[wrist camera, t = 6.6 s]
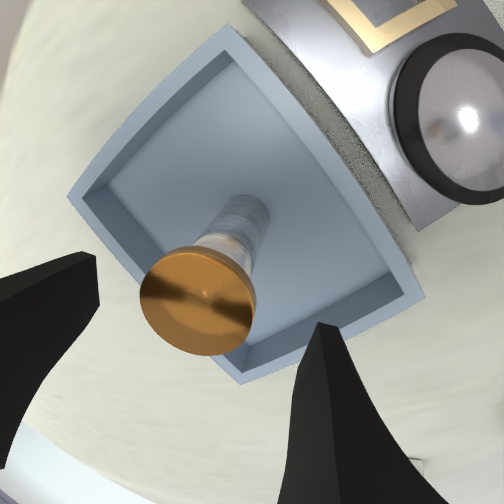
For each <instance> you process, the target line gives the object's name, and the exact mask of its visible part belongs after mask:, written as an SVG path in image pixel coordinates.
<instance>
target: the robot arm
mask: <svg viewBox="0 0 504 504" xmlns="http://www.w3.org/2000/svg"><path fill="white" fill-rule="evenodd" d="M99 306H100V301H99V291H98V280H97V266H96V256H95V255H92V254H89V253H86V252H83V251H80V252H76V253H72V254H69V255H66V256H63V257H60V258H57V259H54V260H52V261H49V262H46V263H43V264H41V265H38V266H35V267H32V268H30V269H27V270H24V271H21V272H18V273H15V274H12V275H9V276H6V277H4V278H1V279H0V469H4V468H5V464H6V460H7V457H8V454H9V451H10V448H11V445H12V442H13V439H14V437H15V434H16V432H17V430H18V427H19V425H20V423H21V420H22V418H23V416H24V414H25V412H26V410H27V408H28V406H29V404H30V403H31V401H32V399H33V397H34V395H35V394H36V392H37V390H38V389H39V387H40V385H41V383H42V382H43V380H44V379H45V377H46V376H47V375H48V373H49V372H50V371H51V369H52V368H53V367H54V366H55V364H56V363H57V362H58V361H59V359H60V358H61V357H62V356H63V355H64V353H65V352H66V351H67V350H68V349H69V347H70V346H71V345H72V344H73V343H74V341H75V340H76V339H77V338H78V336H79V335H80V334H81V333H82V332H83V330H84V329H85V328H86V326H87V325H88V323H89V322H90V320H91V319H92V317H93V316H94V314H95V312H96V311H97V309H98V307H99ZM0 504H18V503H17V502H16V501H15V500H13V499H12V498H10V497H9V496H8V495H7V494H6V493H4V492H3V491H2V490H1V489H0ZM277 504H449V503H448V502H447V501H445V500H444V499H443V498H442V497H441V496H440V494H439V493H438V492H437V491H436V490H435V489H434V488H433V487H432V486H431V485H430V484H429V483H428V482H427V481H426V479H425V478H424V477H423V476H422V475H421V474H420V473H419V471H418V470H417V469H416V468H415V466H414V465H413V464H412V462H411V461H410V460H409V459H408V457H407V456H406V455H405V453H404V452H403V451H402V449H401V448H400V447H399V445H398V444H397V442H396V441H395V439H394V438H393V436H392V435H391V433H390V432H389V430H388V429H387V427H386V425H385V424H384V422H383V421H382V419H381V417H380V416H379V414H378V412H377V410H376V408H375V406H374V405H373V403H372V401H371V399H370V397H369V395H368V393H367V391H366V389H365V387H364V385H363V383H362V381H361V379H360V376H359V374H358V372H357V370H356V368H355V366H354V363H353V361H352V359H351V356H350V354H349V352H348V349H347V347H346V345H345V342H344V340H343V337H342V335H341V333H340V330H339V328H338V327H337V326H333V325H329V324H325V323H321V322H317V325H316V327H315V330H314V332H313V334H312V337H311V339H310V341H309V344H308V346H307V348H306V351H305V353H304V355H303V357H302V360H301V362H300V364H299V366H298V370H297V375H296V380H295V385H294V390H293V395H292V404H291V416H290V428H289V439H288V450H287V460H286V466H285V473H284V477H283V481H282V486H281V490H280V494H279V498H278V502H277Z"/></svg>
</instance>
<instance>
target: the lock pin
mask: <svg viewBox="0 0 504 504" xmlns="http://www.w3.org/2000/svg"><path fill="white" fill-rule="evenodd" d="M269 222H270V216H269V212H268V209H267V207H266V206H265V204H264V203H263V202H262V201H261V200H259V199H258V198H256V197H254V196H251V195H238V196H235V197H233V198H232V199H230V200H229V201H228V202H227V203H226V204H225V206H224V207H223V208H222V209H221V210H220V212H219V213H218V214H217V215H216V216H215V218H214V219H213V220H212V221H211V222H210V224H209V225H208V226H207V227H206V229H205V230H204V231H203V232H202V233H201V235H200V236H199V237H198V238H197V240H196V241H195V242H194V243H193V245H192V246H183V247H179V248H176V249H173V250H171V251H169V252H168V253H166V254H165V255H163V256H162V257H161V258H160V259H159V260H158V261H157V263H156V264H155V265H154V266H153V267H152V268H151V269H150V270H149V271H148V273H147V274H146V275H145V277H144V279H143V281H142V284H141V287H140V303H141V308H142V311H143V313H144V316H145V318H146V320H147V321H148V323H149V324H150V326H151V327H152V328H153V330H154V331H155V332H156V333H157V334H158V335H159V336H160V337H161V338H162V339H164V340H165V341H166V342H168V343H169V344H171V345H172V346H174V347H176V348H178V349H180V350H183V351H185V352H188V353H191V354H196V355H202V356H216V355H222V354H226V353H228V352H231V351H233V350H234V349H236V348H237V347H239V346H240V345H241V344H242V343H243V342H244V341H245V340H246V338H247V337H248V335H249V332H250V330H251V326H252V323H253V319H254V316H255V312H256V306H257V299H256V293H255V289H254V286H253V284H252V282H251V280H250V277H251V274H252V271H253V268H254V266H255V263H256V260H257V257H258V254H259V251H260V249H261V246H262V243H263V240H264V237H265V235H266V232H267V229H268V226H269Z"/></svg>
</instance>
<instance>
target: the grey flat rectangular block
mask: <svg viewBox="0 0 504 504" xmlns="http://www.w3.org/2000/svg"><path fill="white" fill-rule="evenodd" d="M241 1H242V2H243V3H244V4H246V5H247V6H248V7H249V8H250V9H251V10H252V11H253V12H254V13H255V14H256V15H257V16H258V17H259V18H260V19H261V20H262V21H263V22H264V23H265V24H266V25H267V26H268V28H269V29H270V30H271V31H272V32H273V33H274V34H275V35H276V36H277V37H278V38H279V39H280V40H281V41H282V42H283V44H284V45H285V46H286V47H287V48H288V49H289V50H290V51H291V52H292V54H293V55H294V56H295V57H296V58H297V59H298V60H299V62H300V63H301V64H302V65H303V66H304V67H305V69H306V70H307V71H308V72H309V73H310V75H311V76H312V77H313V78H314V79H315V81H316V82H317V83H318V84H319V86H320V87H321V88H322V89H323V91H324V92H325V93H326V94H327V96H328V97H329V98H330V100H331V101H332V102H333V103H334V105H335V106H336V107H337V109H338V110H339V111H340V113H341V114H342V115H343V117H344V118H345V119H346V121H347V122H348V124H349V125H350V126H351V128H352V129H353V131H354V132H355V133H356V135H357V136H358V138H359V139H360V141H361V142H362V143H363V145H364V146H365V148H366V149H367V151H368V152H369V154H370V155H371V157H372V158H373V160H374V161H375V163H376V164H377V166H378V167H379V169H380V171H381V172H382V174H383V175H384V177H385V178H386V180H387V182H388V183H389V185H390V187H391V188H392V190H393V192H394V193H395V195H396V197H397V198H398V200H399V202H400V203H401V205H402V207H403V208H404V210H405V212H406V214H407V215H408V217H409V219H410V221H411V223H412V224H413V226H414V227H415V228H416V230H417V231H418V232H419V231H420V230H422V229H423V228H425V227H427V226H428V225H430V224H431V223H433V222H434V221H436V220H437V219H439V218H440V217H442V216H444V215H445V214H447V213H448V212H450V211H451V210H453V209H454V208H456V207H457V206H459V205H460V204H462V203H463V204H467V205H484V204H489V203H493V202H496V201H498V200H501V199H503V198H504V32H503V30H502V28H501V27H500V25H499V24H498V22H497V21H496V19H495V17H494V16H493V14H492V13H491V12H490V10H489V9H488V7H487V6H486V4H485V3H484V2H483V0H241Z"/></svg>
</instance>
